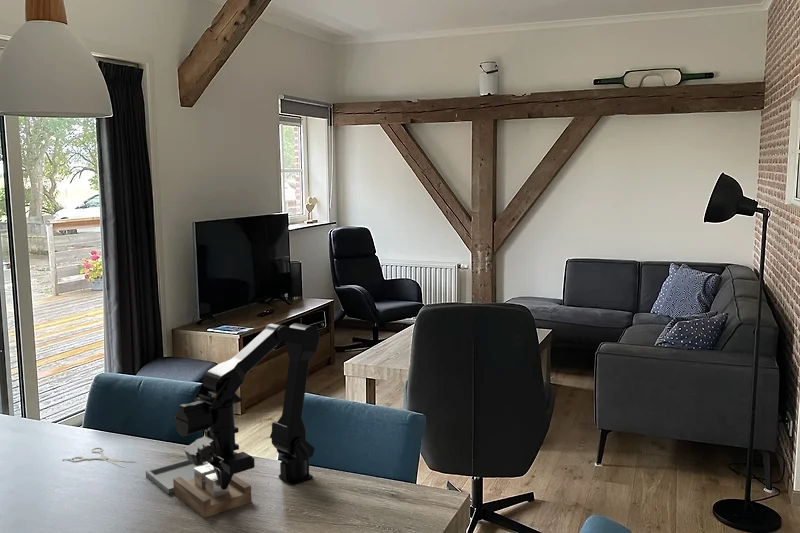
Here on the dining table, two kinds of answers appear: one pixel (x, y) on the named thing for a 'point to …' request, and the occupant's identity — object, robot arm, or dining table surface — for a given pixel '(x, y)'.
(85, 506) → the dining table surface
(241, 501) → the slot block
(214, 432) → the robot arm
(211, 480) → the brushed metal block
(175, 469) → the tray
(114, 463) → the scissors
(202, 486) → the grey metal cube
